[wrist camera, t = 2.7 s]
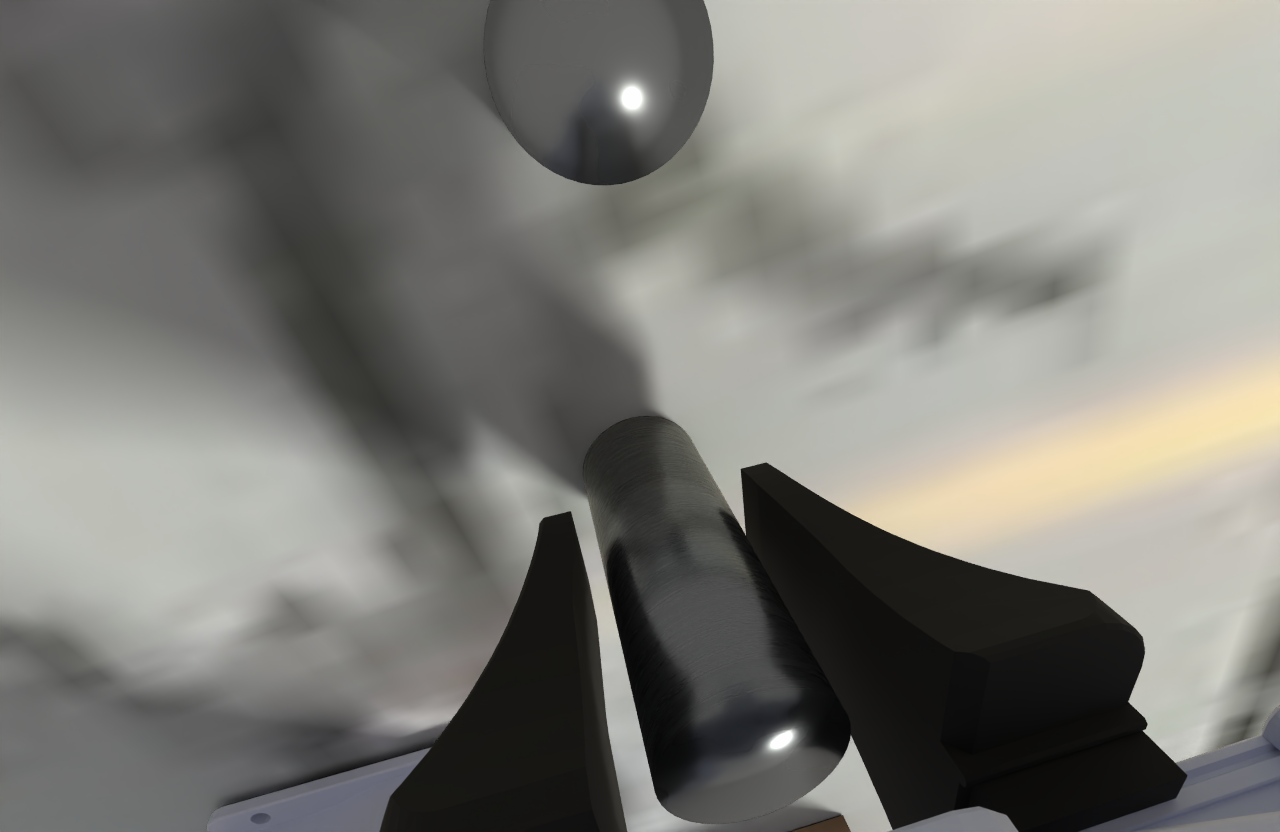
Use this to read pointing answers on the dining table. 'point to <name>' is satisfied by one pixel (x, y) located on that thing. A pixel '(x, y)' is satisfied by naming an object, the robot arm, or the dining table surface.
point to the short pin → (599, 81)
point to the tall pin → (705, 635)
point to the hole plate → (828, 826)
